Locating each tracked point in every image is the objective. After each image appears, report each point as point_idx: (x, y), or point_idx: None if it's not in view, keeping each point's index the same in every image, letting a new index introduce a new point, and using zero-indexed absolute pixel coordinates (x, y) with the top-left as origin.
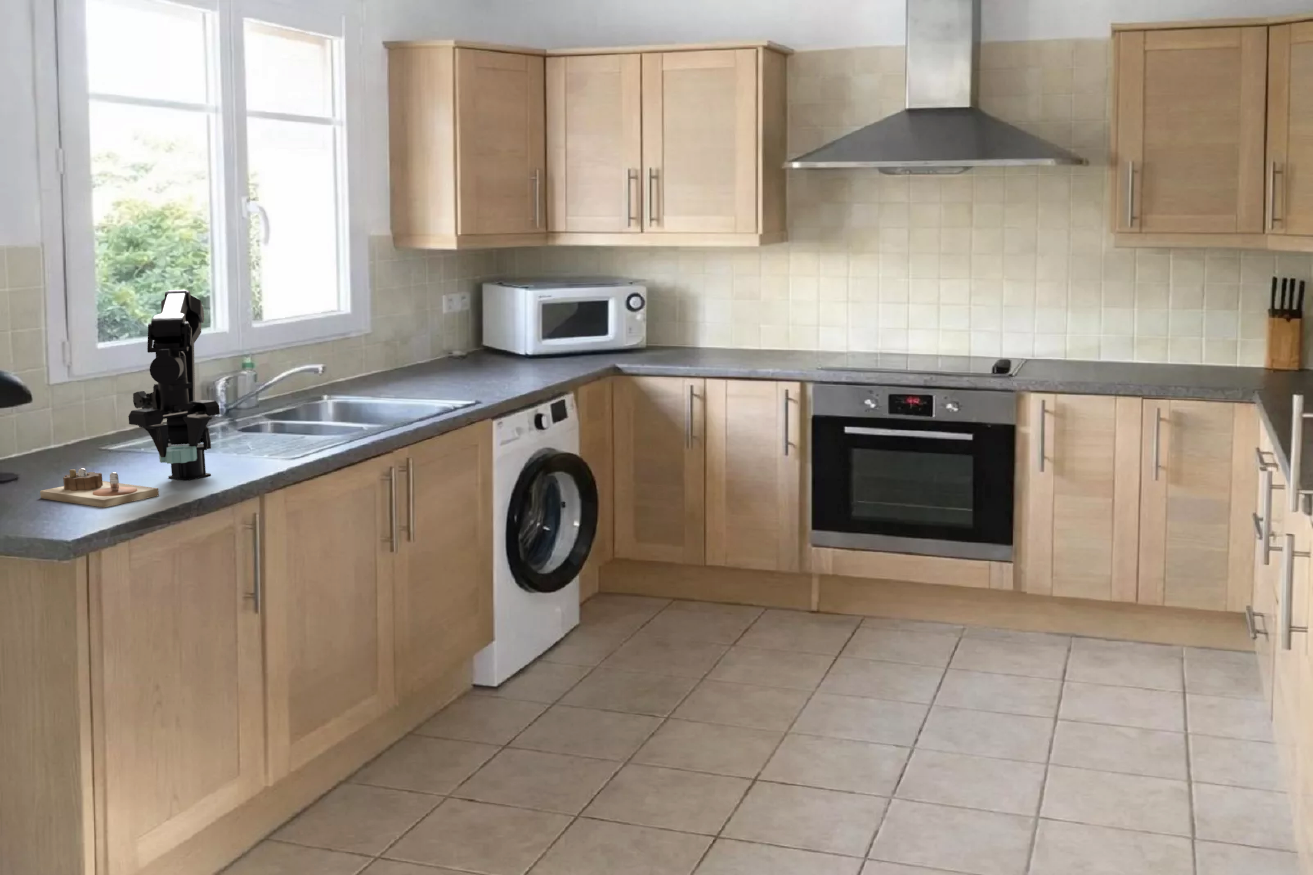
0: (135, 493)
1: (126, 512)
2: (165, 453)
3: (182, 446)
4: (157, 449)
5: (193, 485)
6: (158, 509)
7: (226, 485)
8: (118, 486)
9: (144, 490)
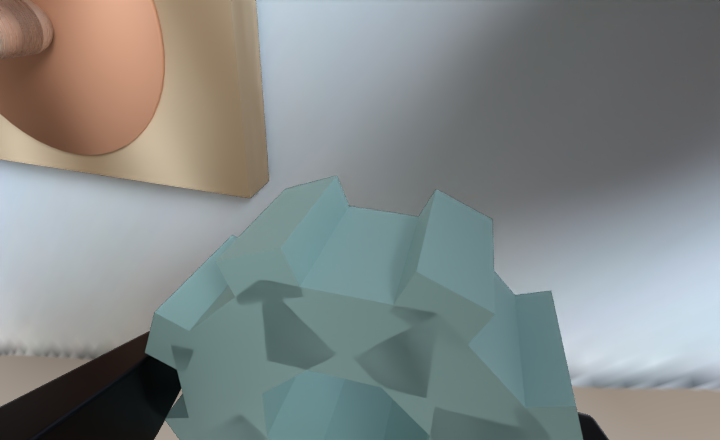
0: (110, 176)
1: (41, 268)
2: (168, 397)
3: (480, 428)
4: (90, 364)
5: (643, 125)
6: (136, 336)
7: (679, 321)
8: (28, 53)
9: (171, 169)
